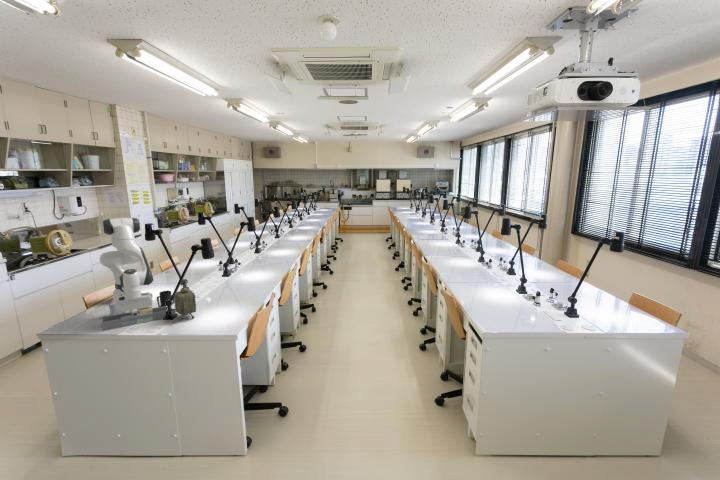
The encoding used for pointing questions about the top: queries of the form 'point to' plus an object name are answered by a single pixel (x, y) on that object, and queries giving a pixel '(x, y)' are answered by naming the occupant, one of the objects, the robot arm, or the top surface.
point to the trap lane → (132, 318)
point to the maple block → (146, 310)
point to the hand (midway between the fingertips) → (135, 315)
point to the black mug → (163, 297)
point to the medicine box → (112, 310)
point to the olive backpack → (185, 301)
